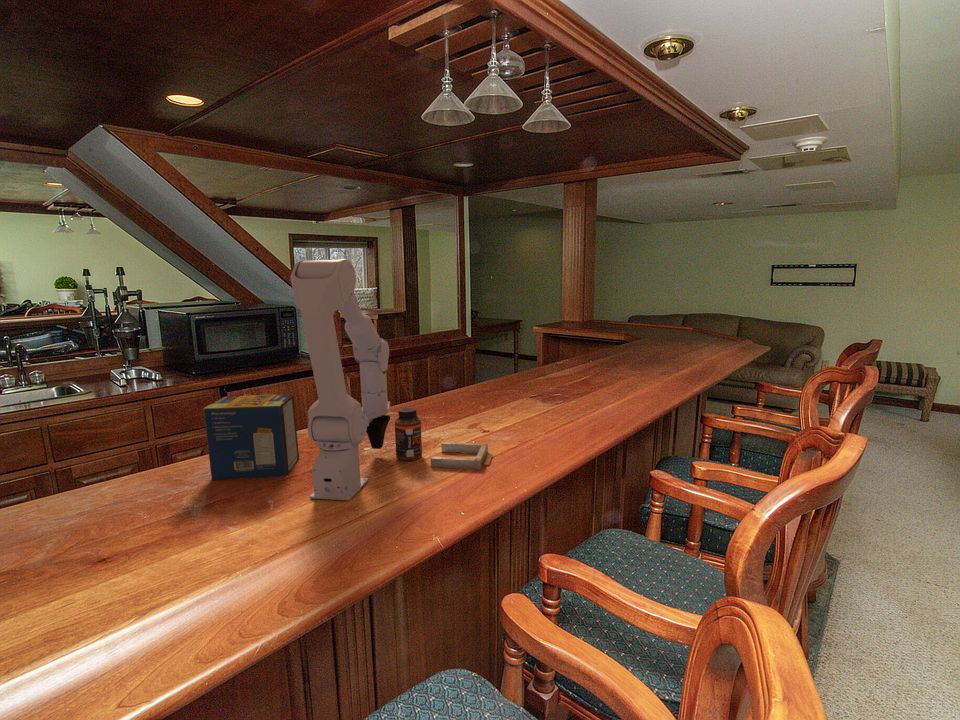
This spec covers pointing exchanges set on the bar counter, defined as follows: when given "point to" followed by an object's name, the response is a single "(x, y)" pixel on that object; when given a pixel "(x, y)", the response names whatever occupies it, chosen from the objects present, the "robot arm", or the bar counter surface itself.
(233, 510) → the bar counter surface
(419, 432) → the supplement bottle
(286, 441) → the protein box
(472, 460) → the bracket
